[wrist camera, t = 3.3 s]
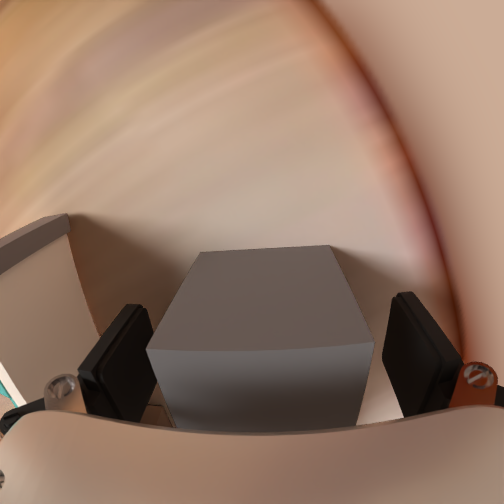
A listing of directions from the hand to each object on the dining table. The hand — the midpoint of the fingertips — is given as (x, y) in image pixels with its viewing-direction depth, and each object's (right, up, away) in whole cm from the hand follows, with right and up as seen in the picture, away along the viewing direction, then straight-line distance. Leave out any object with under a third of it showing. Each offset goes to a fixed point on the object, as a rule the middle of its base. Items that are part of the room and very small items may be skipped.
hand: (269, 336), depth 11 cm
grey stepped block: (0, -3, +3) cm, 4 cm away
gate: (-9, -1, +3) cm, 9 cm away
